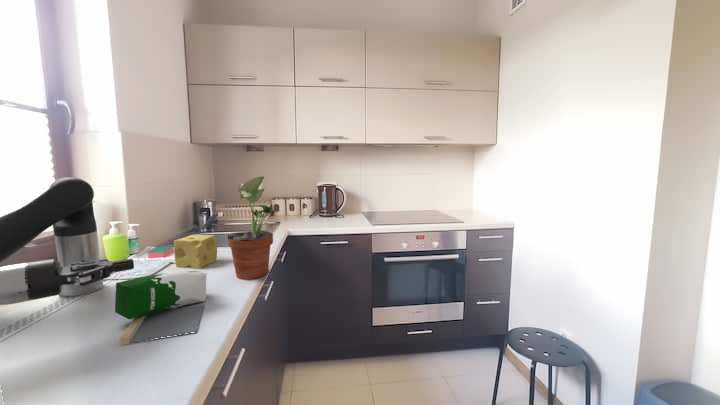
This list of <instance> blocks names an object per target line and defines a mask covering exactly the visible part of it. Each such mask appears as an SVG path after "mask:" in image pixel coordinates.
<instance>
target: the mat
mask: <svg viewBox="0 0 720 405" xmlns="http://www.w3.org/2000/svg"><path fill="white" fill-rule="evenodd" d="M203 308H205V304H199V305H191V306H182V307H177V308H173V309H169V310H165V311H162V312H158V313H154V314H150V315H146V316H142V317H138V318H134V319H132V321H131V322H130V324H129V325H128V326H127V328H126V329H125V331H124V333H122V335H121V337H120V338H119V343H120V346H125V345H126V344H127V345H132V344H131V343H133V344H136V343H135V342H139V343H141V342H140V341H145V342H147V341H146V340H151V339H155V338H161V337H167V336H174V335H179V334H185V333H191V332H196V331H197V332H198V329H197V327H198V328H199V326H198V324H199V325H200V322H199V321H201V319H200V318H202V316H201V314H202V315H203V312H204V309H203ZM202 311H203V312H202ZM151 341H152V340H151Z"/></svg>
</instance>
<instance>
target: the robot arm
mask: <svg viewBox="0 0 720 405" xmlns="http://www.w3.org/2000/svg"><path fill="white" fill-rule="evenodd" d="M94 195H95V192H94V188H93V186H92V185H91V184H89V183H88V182H87V181H86V180H84V179H81V178H79V177H74V176H66V177H65V176H64V177H61V178H58V179H56V180H55V181H53V182H52V184H50V186H49V188H48V189H47V190H46V191H44V192H42V194H40V195H39V196H37V197H36V198H34V199H33V200H32V201H29V202H28V203H27V204H26V205H24V206H22V207H20V208H18V209H16V210H13V211H11V212H10V213H6V214H4V215H1V216H0V263H2V262H5V260H7V259H8V258H10V257H11V256H13V255H14V254H15V253H17V252H18V251H19V250H21V249H23V248H24V247H25V246H26V245H28V244H29V243H31V242H32V241H33V240H35V239H36V238H37V237H39V235H41V234H42V233H43V232H45V231H46V230H47V229H49V228H51V227H52V228H53V235H54V240H55V249H56V250H55V251H56V257H57V259H56V258H50V259H43V260H42V259H41V260H35V261H30V262H29V261H28V262H21V263H15V264H9V265H3V266H0V306H7V305H15V304H20V303H23V302H29V301H35V300H40V299H45V298H50V297H54V296H58V297H60V296H66V297H76V296H77V297H78V296H81V295H83V296H84V295H87V294H91V293H93V292H96V291H99V290H101V289H102V288H103V287H104V279H107V278H110V277H111V276H112V275H113V274H114V273H119V272H124V271H129V270H133V269H134V268H135V265H134V259H132V258H127V259H118V260H109V259H101V254H100V253H101V252H100V244H99V237H98V227H97V221H96V218H95V212H94V203H93V200H94V197H95V196H94Z"/></svg>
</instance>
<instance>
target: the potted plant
mask: <svg viewBox="0 0 720 405" xmlns="http://www.w3.org/2000/svg"><path fill="white" fill-rule="evenodd" d="M264 179H265V176H256V177H254V178H252V179H249V180H248V181H246V182H245V183H244V184H243V185H241V187H240V188H239V189H238V190H239V192H246V193H241V194H240V196H239V200H242V199H246V200H247V201H248V203H249V205H250V210H251V211H250V213H251V230H250V231H243V232H242V231H241V232H240V231H239V232H238V231H237V232H232V233H230V234H229V235H228V237H227V246H228V247H229V248H230V251H231V254H232V256H231V257H232V261H233V265H234V271H235V275H236V278H237V279H239V280H242V281H249V280H252V279H257V278H260V277H263V276H265V275H267V274H268V272H269V268H270V267H269V264H270V253H271V245H273V243H274V234H273V232H270V231H265V230H261V229H262V226H263V222H264V221H265V218H266V217H267V215H268V214H270V217H273V216H274V214H275V211H274V210H273V209H271V208H270V207H269V206H268V205H264V204H263V205H261V204H259V205H258V206H259V207H261V210H257V209H255V207H254V206H255V203H257V202H258V201H259V200H260V198H261V197H262V195H263V193H264V192H265V187H261V188H259V187H260V186H261V185H262V183H263V181H264ZM260 219H261V220H260ZM258 220H260V222H258ZM257 225H258V226H257Z"/></svg>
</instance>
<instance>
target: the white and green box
mask: <svg viewBox="0 0 720 405" xmlns="http://www.w3.org/2000/svg"><path fill="white" fill-rule="evenodd" d="M206 297H207V272H203V271H202V270H197V269H194V268H188V269H182V270H176V271H169V272H163V273H157V274H153V275H145V276H141V277H140V276H139V277H136V278H135V277H134V278H131V279H128V280H123V281H118V282H115V301H114V304H115V305H114V313H116V314H117V315H119V316H121V317H123V318H125V319H127V320H134V318H138V317H142V316H146V315H150V314H154V313H158V312H162V311H165V310H169V309H176V308H182V307H185V306H188V305H192V304H199V303H202V302H206V299H207V298H206Z"/></svg>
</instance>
